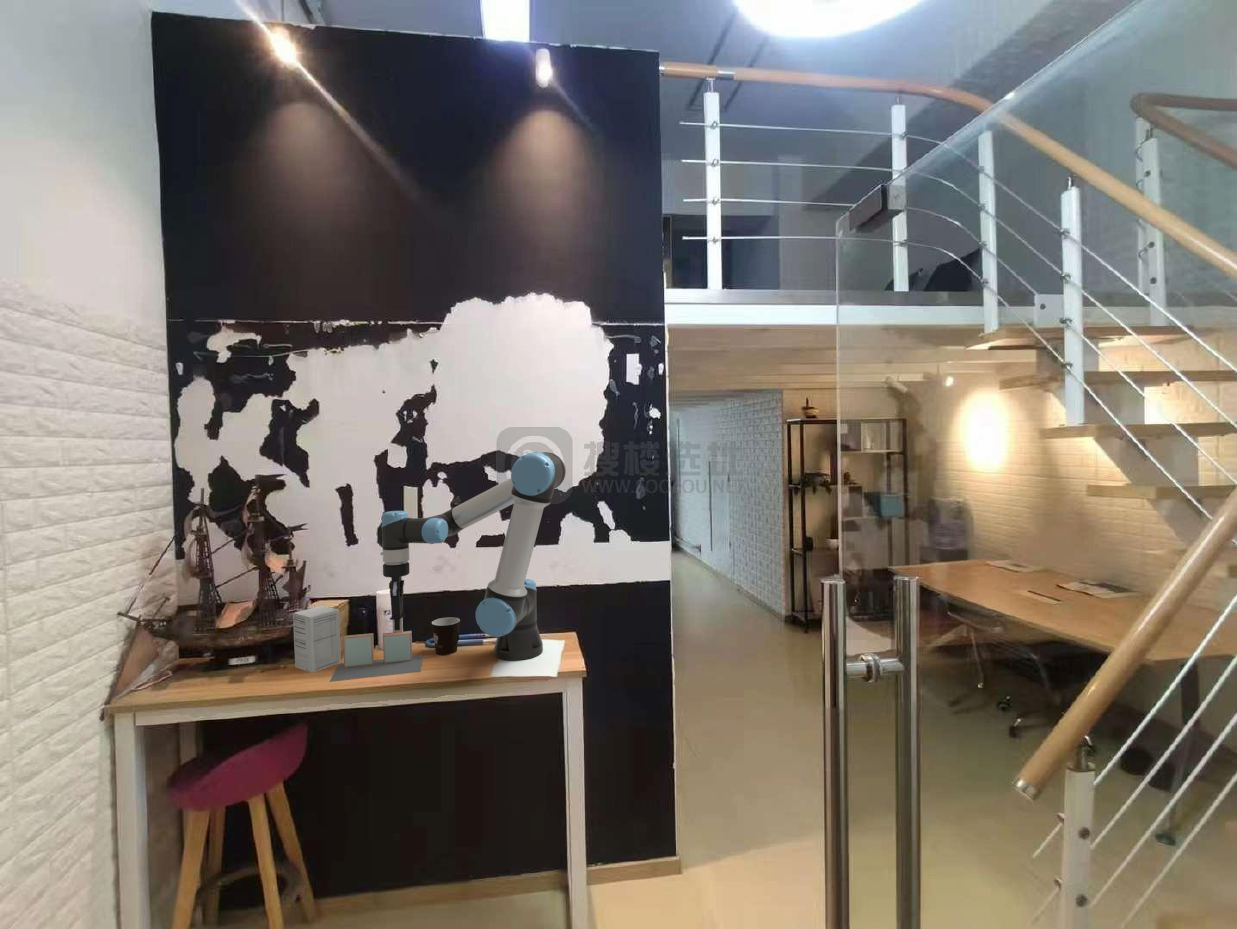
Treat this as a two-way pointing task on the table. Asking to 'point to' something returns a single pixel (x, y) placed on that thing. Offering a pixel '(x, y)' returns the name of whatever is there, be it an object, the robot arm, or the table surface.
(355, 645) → the tile
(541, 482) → the robot arm
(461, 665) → the table surface
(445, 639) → the coffee mug
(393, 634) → the tile
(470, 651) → the table surface
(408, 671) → the mat
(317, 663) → the supplement box
